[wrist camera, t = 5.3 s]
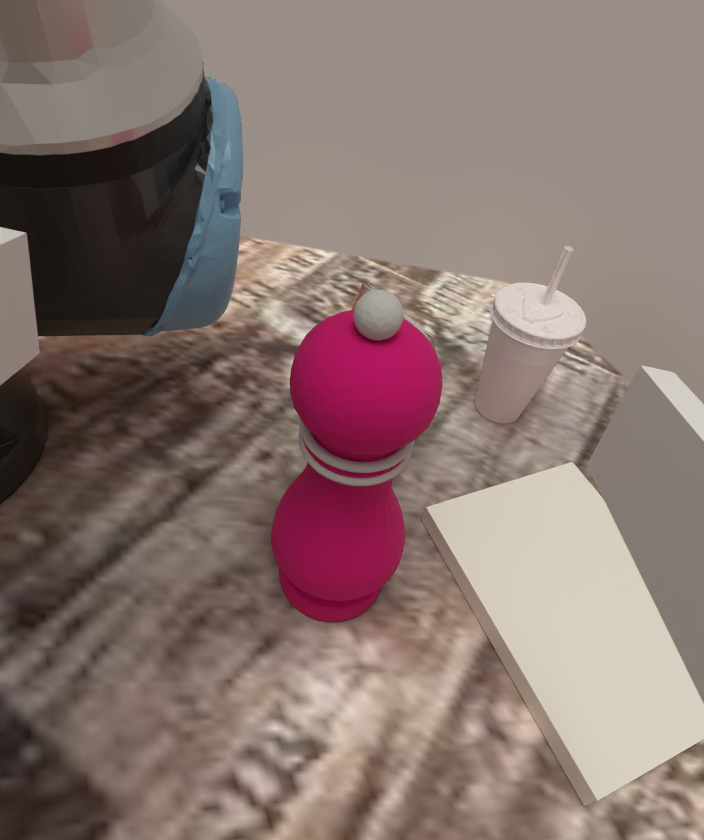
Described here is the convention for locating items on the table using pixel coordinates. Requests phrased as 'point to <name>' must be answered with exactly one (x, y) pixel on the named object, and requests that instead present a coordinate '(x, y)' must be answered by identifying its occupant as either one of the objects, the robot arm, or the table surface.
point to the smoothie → (525, 343)
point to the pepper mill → (352, 455)
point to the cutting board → (571, 625)
